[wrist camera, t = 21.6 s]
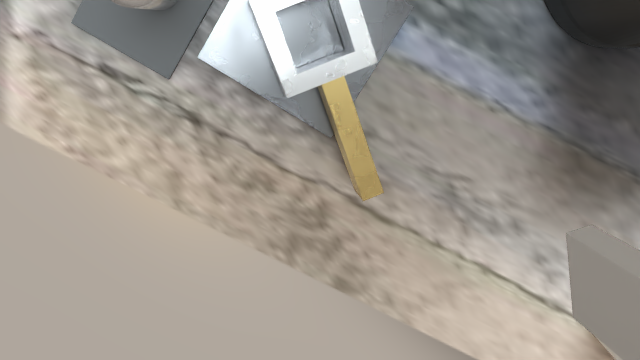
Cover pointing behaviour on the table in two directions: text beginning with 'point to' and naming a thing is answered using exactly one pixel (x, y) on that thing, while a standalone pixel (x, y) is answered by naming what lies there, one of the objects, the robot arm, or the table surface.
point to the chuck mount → (297, 49)
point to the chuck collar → (328, 80)
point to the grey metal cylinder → (146, 4)
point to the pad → (144, 30)
